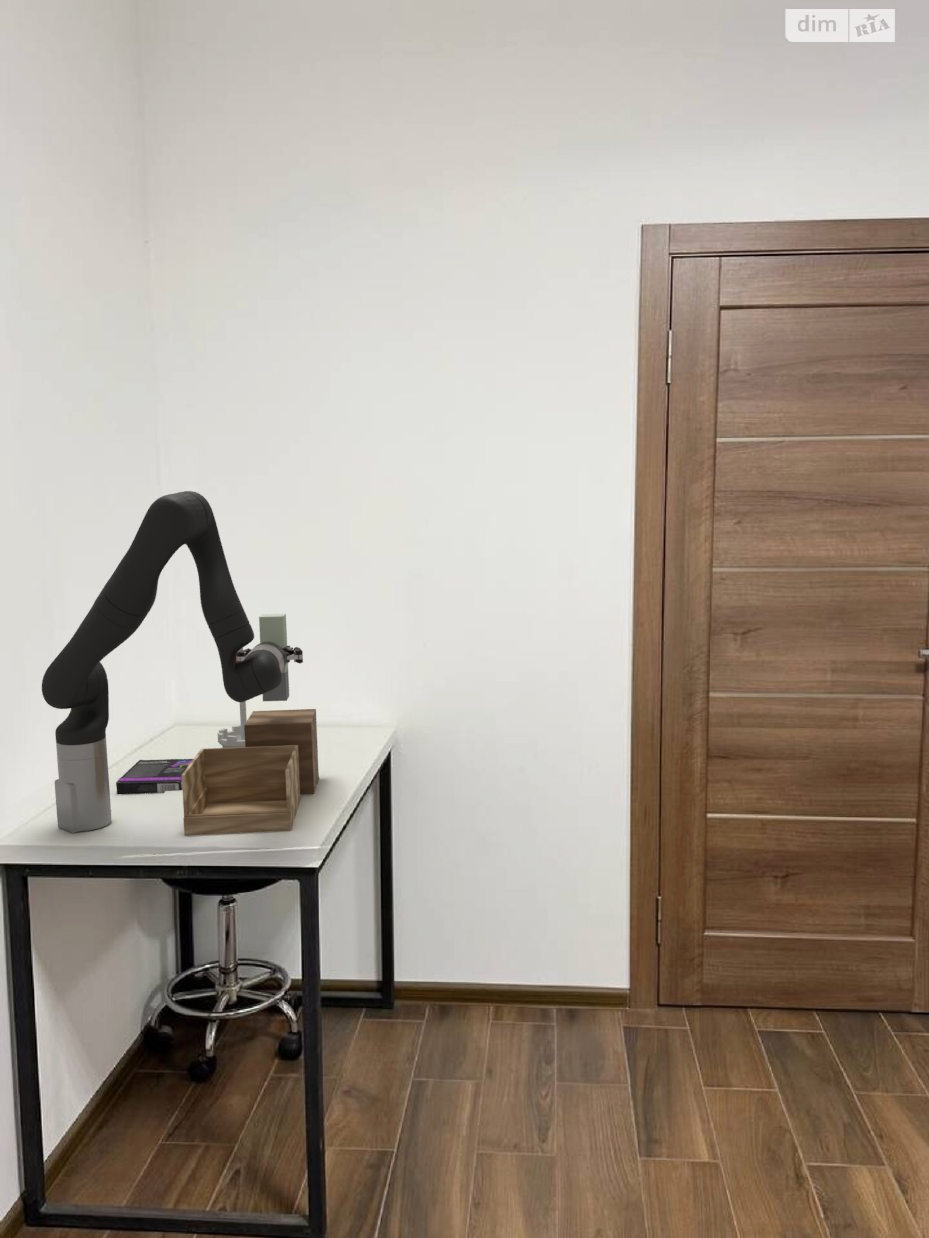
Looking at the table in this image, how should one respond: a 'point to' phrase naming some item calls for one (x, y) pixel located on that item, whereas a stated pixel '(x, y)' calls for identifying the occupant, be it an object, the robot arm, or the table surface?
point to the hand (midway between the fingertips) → (275, 650)
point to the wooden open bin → (241, 790)
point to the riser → (288, 739)
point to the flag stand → (234, 730)
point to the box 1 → (153, 776)
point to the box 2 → (277, 633)
